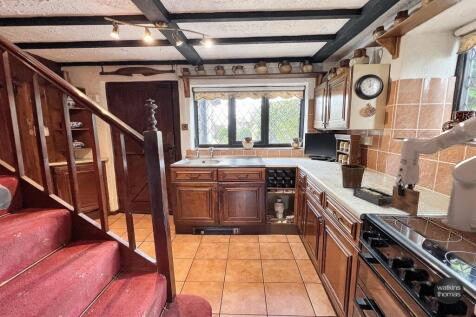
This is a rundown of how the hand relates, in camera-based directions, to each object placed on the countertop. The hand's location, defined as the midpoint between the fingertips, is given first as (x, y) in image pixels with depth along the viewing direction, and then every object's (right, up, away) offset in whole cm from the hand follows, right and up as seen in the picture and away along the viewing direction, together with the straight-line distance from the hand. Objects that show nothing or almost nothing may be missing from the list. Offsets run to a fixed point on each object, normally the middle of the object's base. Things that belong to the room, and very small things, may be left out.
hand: (405, 195), depth 119 cm
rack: (-6, -6, +18) cm, 20 cm away
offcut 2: (-8, -6, +14) cm, 17 cm away
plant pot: (-5, -2, +46) cm, 47 cm away
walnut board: (0, -9, +2) cm, 9 cm away
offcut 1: (-9, -5, +21) cm, 23 cm away
